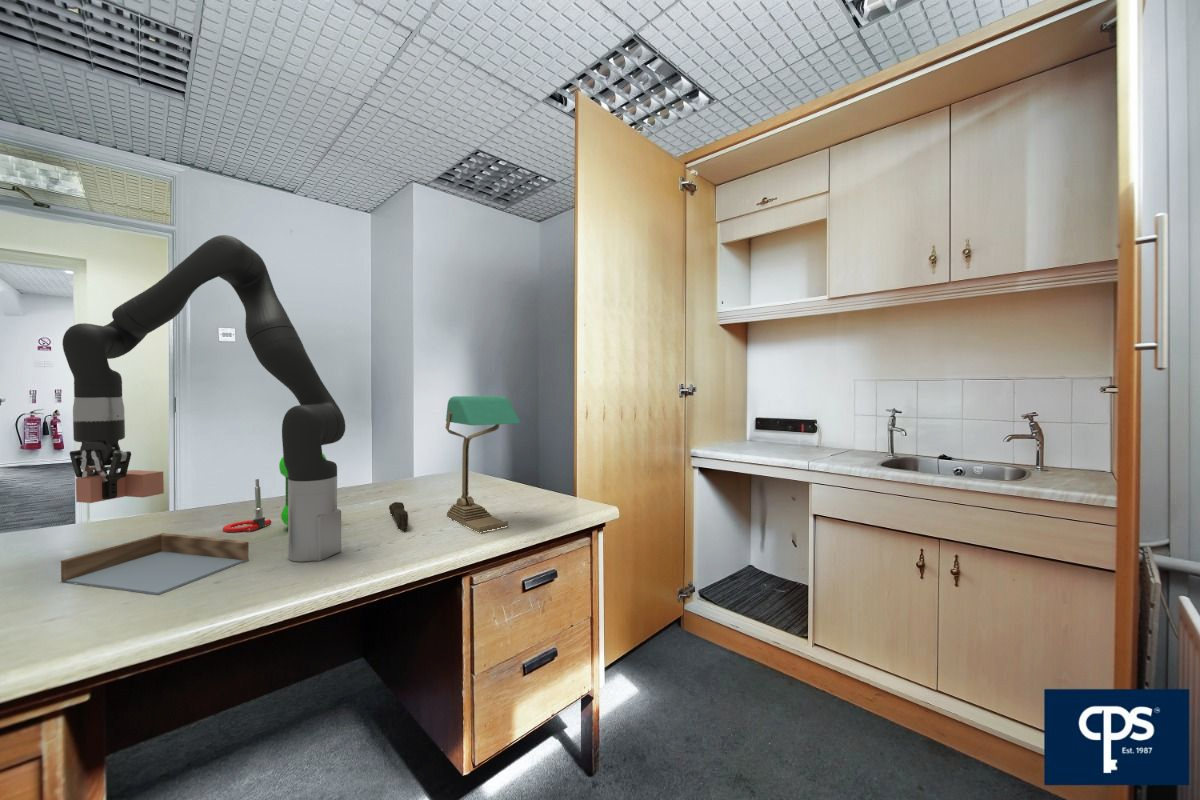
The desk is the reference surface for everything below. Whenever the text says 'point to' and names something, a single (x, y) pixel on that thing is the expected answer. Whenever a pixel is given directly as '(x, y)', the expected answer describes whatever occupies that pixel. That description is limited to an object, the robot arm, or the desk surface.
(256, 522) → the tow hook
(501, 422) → the banker's lamp
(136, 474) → the bracket
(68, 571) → the walnut corner walls
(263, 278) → the robot arm
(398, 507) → the dark brown rough bar
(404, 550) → the desk surface
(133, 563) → the rubber mat
